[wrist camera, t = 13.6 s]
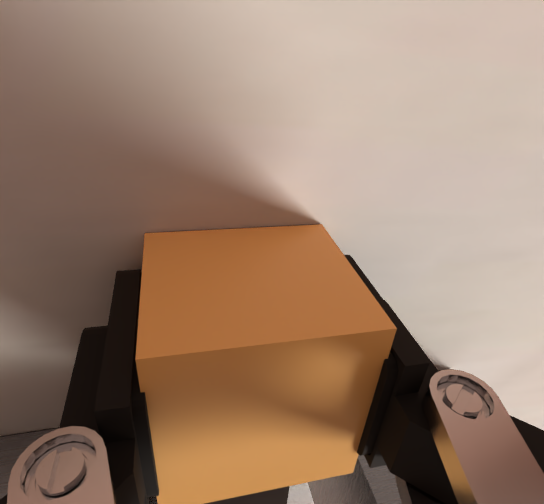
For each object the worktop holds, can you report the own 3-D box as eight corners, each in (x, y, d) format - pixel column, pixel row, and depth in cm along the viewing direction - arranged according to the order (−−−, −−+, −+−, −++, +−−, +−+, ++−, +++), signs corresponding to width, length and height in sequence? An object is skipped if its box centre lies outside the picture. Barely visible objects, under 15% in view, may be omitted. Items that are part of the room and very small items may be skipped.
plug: (280, 500, 17) (308, 617, 14) (176, 522, 16) (181, 654, 13) (321, 224, 10) (396, 328, 7) (144, 233, 9) (136, 359, 6)
